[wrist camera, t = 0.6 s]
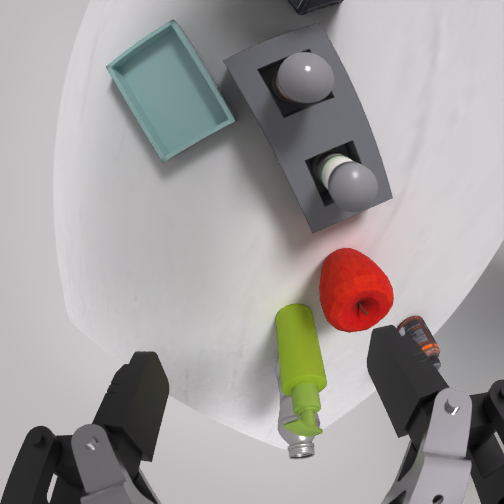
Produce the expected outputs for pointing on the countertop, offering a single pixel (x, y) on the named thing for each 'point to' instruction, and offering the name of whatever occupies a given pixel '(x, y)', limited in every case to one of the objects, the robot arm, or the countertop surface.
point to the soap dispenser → (300, 366)
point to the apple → (354, 291)
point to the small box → (311, 5)
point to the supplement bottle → (421, 337)
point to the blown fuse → (303, 79)
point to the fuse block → (314, 131)
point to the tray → (170, 91)
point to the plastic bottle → (298, 444)
